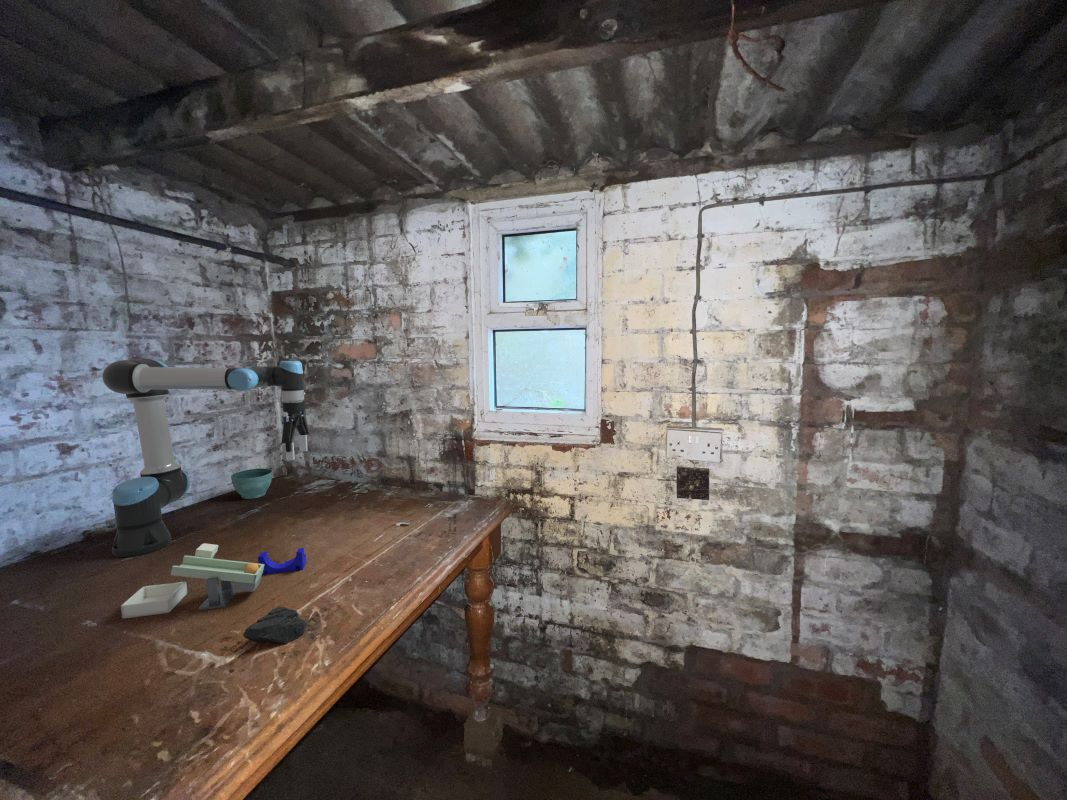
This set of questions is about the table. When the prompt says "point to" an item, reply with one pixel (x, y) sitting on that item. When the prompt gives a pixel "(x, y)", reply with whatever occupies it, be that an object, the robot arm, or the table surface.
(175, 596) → the open white tray
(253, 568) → the ball
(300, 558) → the cable clip
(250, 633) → the rock
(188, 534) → the table surface
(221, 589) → the pivot stand
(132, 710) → the table surface
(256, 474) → the flower pot
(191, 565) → the lever
